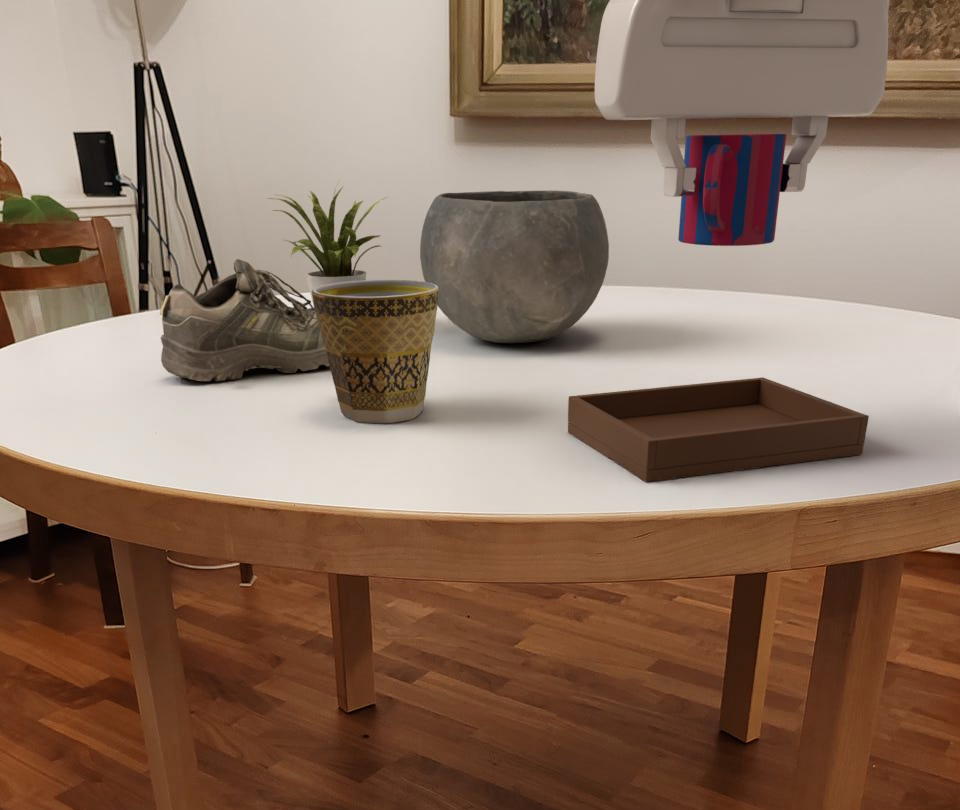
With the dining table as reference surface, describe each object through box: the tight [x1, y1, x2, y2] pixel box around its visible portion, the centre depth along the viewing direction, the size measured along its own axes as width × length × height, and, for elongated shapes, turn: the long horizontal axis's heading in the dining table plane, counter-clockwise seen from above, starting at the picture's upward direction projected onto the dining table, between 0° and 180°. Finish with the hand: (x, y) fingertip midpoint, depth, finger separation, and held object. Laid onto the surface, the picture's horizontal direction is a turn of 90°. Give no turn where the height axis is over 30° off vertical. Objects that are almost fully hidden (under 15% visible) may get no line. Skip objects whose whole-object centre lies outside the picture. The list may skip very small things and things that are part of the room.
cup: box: [678, 133, 787, 247], centre depth 67 cm, size 7×10×7 cm
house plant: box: [266, 181, 389, 306], centre depth 115 cm, size 14×14×16 cm
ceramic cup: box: [311, 279, 439, 424], centre depth 81 cm, size 13×10×10 cm
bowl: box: [419, 190, 610, 345], centre depth 107 cm, size 20×20×15 cm
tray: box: [567, 377, 870, 483], centre depth 72 cm, size 17×13×3 cm
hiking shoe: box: [159, 258, 330, 383], centre depth 97 cm, size 9×21×12 cm
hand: (733, 194), depth 68 cm, fingers closed on cup, 7 cm apart
